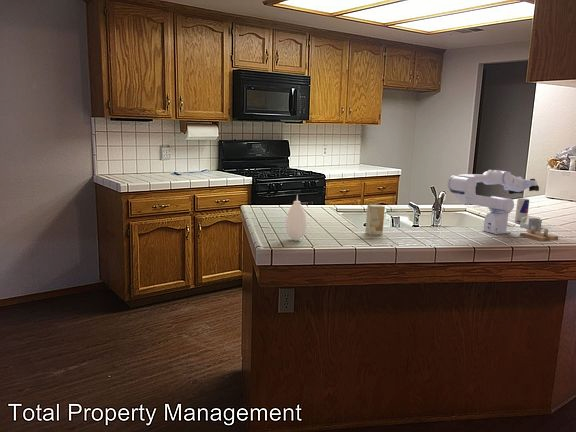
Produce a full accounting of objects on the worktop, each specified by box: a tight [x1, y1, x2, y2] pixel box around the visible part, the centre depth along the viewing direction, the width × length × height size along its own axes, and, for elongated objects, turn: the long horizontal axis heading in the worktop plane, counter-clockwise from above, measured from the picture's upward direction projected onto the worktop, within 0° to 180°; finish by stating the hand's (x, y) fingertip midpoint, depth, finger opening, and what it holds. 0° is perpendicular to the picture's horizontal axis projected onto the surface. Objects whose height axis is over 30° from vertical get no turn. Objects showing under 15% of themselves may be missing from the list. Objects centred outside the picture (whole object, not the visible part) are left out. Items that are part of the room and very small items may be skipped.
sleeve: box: [526, 218, 543, 233], centre depth 213 cm, size 6×6×6 cm
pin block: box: [519, 226, 559, 242], centre depth 203 cm, size 11×10×4 cm
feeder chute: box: [519, 215, 541, 229], centre depth 225 cm, size 9×6×5 cm
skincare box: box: [365, 204, 386, 236], centre depth 199 cm, size 6×4×12 cm
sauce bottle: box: [285, 194, 308, 242], centre depth 183 cm, size 8×8×18 cm
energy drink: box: [514, 197, 530, 224], centre depth 235 cm, size 5×5×12 cm
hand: (530, 190), depth 219 cm, fingers open, 7 cm apart
